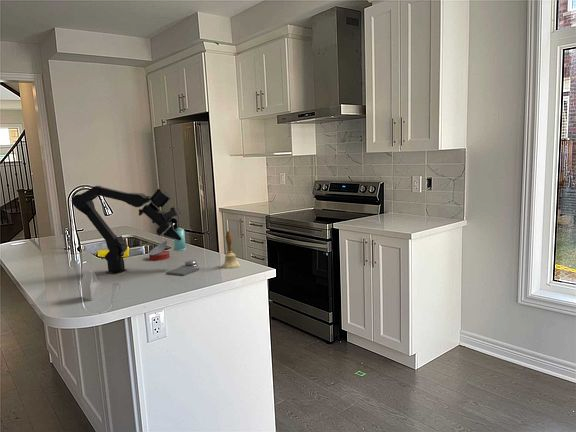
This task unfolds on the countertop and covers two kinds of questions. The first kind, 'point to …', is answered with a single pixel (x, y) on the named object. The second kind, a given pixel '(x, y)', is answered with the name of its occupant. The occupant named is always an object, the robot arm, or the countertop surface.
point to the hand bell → (230, 254)
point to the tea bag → (90, 286)
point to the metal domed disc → (190, 263)
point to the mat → (182, 271)
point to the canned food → (159, 252)
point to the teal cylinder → (179, 244)
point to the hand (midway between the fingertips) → (182, 238)
